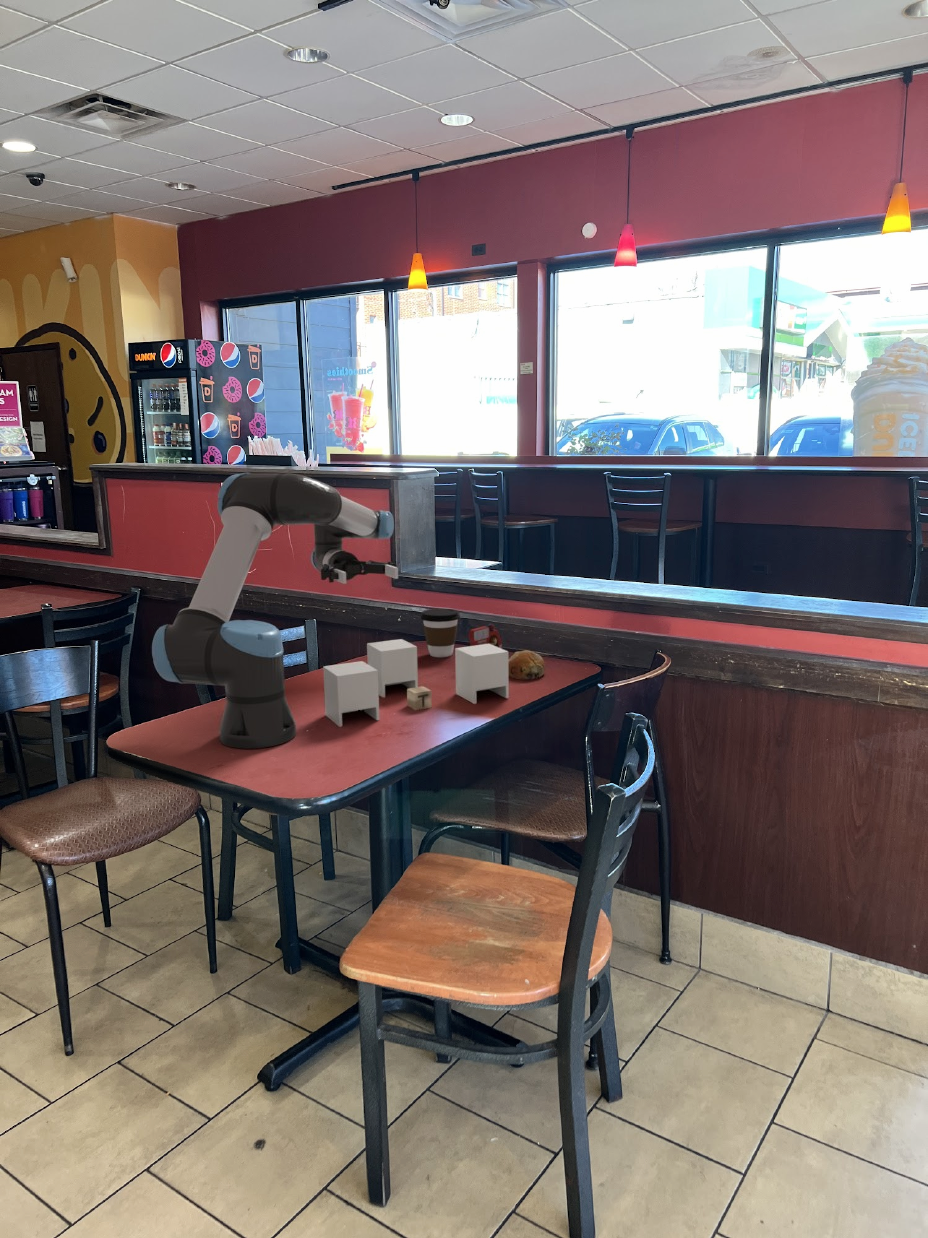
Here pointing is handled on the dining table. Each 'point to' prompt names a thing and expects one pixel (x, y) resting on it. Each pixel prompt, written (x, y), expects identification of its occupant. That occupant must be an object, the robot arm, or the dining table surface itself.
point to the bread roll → (525, 665)
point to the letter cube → (419, 698)
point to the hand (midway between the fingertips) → (371, 575)
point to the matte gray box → (481, 671)
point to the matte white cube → (350, 690)
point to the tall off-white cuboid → (393, 663)
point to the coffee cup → (440, 630)
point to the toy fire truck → (485, 636)
